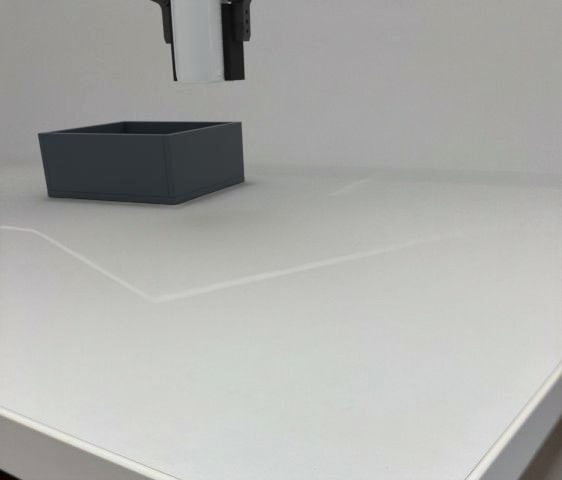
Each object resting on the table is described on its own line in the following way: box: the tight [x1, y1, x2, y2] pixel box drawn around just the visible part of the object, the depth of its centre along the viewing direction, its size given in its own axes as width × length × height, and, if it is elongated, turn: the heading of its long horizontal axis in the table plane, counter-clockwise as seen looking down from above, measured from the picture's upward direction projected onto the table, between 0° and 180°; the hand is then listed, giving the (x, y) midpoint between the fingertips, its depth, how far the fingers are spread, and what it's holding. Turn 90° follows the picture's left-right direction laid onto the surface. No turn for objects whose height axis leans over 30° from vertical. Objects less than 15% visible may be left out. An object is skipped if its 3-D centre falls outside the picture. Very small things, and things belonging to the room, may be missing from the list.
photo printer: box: [171, 0, 233, 85], centre depth 65 cm, size 10×4×12 cm, turn 169°
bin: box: [37, 120, 246, 206], centre depth 91 cm, size 20×18×8 cm
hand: (209, 80), depth 68 cm, fingers closed on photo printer, 5 cm apart
